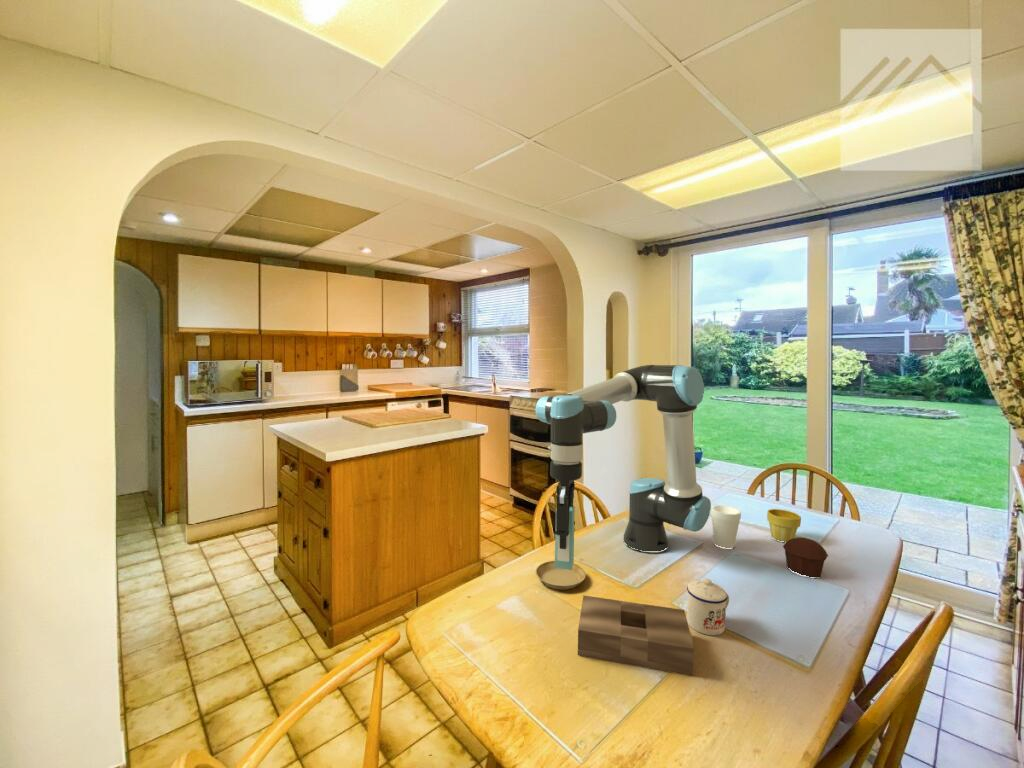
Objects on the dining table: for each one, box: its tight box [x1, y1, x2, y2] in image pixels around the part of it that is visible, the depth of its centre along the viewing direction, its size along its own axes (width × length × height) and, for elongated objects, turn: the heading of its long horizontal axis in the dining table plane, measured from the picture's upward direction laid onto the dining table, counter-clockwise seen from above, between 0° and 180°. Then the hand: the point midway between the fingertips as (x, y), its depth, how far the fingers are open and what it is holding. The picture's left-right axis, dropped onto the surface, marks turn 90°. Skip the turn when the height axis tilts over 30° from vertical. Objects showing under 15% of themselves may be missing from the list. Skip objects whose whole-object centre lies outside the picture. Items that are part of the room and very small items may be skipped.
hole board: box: [577, 595, 695, 677], centre depth 99 cm, size 14×24×6 cm, turn 76°
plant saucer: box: [535, 560, 587, 591], centre depth 127 cm, size 15×15×3 cm
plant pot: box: [766, 508, 802, 542], centre depth 156 cm, size 10×10×10 cm
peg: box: [554, 505, 575, 570], centre depth 103 cm, size 4×4×14 cm
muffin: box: [782, 537, 829, 578], centre depth 133 cm, size 12×11×10 cm
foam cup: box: [710, 504, 742, 548], centre depth 151 cm, size 10×9×13 cm
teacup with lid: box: [686, 577, 730, 636], centre depth 107 cm, size 12×9×12 cm
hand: (564, 555), depth 103 cm, fingers closed on peg, 4 cm apart
